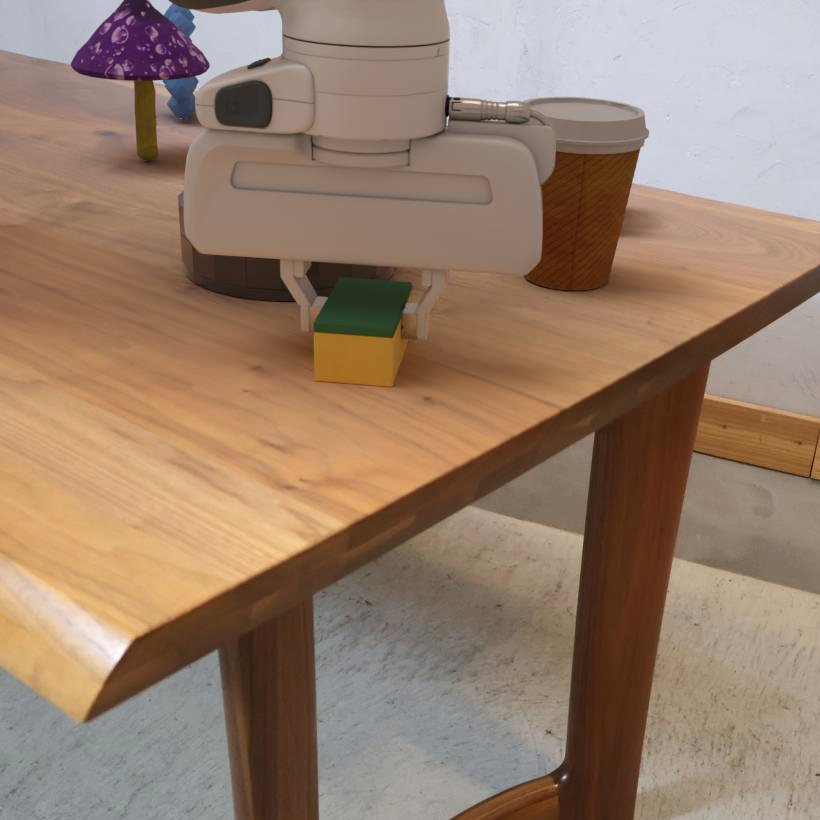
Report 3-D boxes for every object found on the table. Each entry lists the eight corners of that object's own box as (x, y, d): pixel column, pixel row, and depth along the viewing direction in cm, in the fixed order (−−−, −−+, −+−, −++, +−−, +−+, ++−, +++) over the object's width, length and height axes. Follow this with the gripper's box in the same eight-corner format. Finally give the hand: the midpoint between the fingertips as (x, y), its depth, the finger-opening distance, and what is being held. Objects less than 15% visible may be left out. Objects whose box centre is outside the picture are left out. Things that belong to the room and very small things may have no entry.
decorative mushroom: (115, 183, 102) (98, 3, 95) (59, 155, 110) (40, -13, 104) (239, 167, 109) (232, -2, 102) (178, 141, 118) (167, -16, 111)
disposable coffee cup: (530, 249, 90) (542, 90, 84) (648, 271, 86) (668, 106, 81) (479, 283, 82) (489, 110, 76) (606, 308, 78) (625, 129, 73)
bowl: (153, 292, 77) (147, 219, 75) (216, 229, 91) (213, 166, 89) (377, 309, 76) (378, 235, 74) (407, 243, 90) (409, 179, 87)
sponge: (314, 381, 65) (313, 322, 64) (339, 331, 73) (339, 276, 71) (392, 387, 65) (393, 328, 63) (410, 336, 72) (412, 281, 71)
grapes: (148, 106, 133) (139, -5, 128) (207, 107, 134) (201, -3, 129) (141, 127, 123) (131, 7, 118) (205, 127, 124) (199, 9, 119)
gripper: (560, 93, 64) (541, 326, 70) (200, 72, 65) (213, 303, 72) (558, 114, 58) (538, 366, 65) (164, 91, 60) (182, 340, 66)
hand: (364, 333), depth 68 cm, fingers closed on sponge, 4 cm apart
